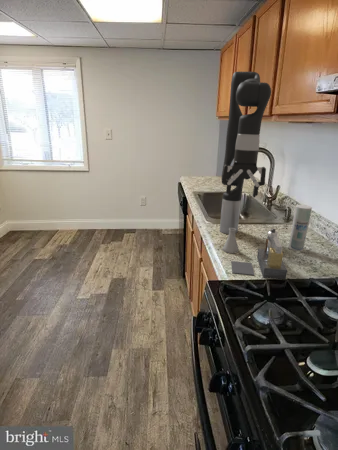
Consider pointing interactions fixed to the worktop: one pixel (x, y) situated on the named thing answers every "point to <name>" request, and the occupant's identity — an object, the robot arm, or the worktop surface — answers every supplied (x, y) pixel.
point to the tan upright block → (274, 258)
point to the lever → (274, 240)
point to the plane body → (264, 266)
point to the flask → (231, 242)
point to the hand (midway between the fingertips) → (241, 196)
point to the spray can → (299, 227)
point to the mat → (242, 268)
